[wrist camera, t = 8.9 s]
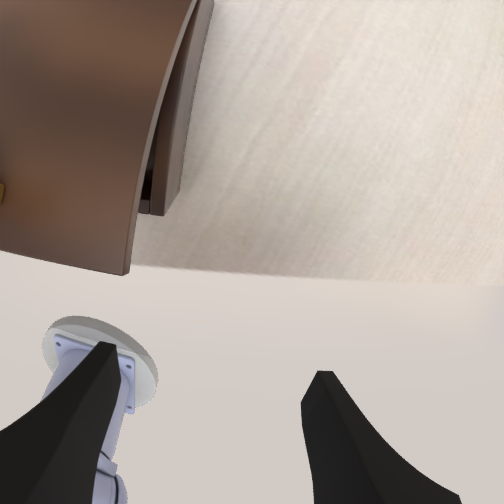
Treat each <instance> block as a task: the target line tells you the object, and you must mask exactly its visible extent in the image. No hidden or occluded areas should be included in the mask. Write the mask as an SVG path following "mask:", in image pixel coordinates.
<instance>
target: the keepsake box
mask: <svg viewBox="0 0 504 504" xmlns="http://www.w3.org/2000/svg"><path fill="white" fill-rule="evenodd" d="M213 7H214V1H213V0H197V2H196V4H195V7H194V9H193V12H192V14H191V17H190V19H189V22H188V25H187V27H186V30H185V33H184V35H183V38H182V41H181V44H180V47H179V50H178V52H177V55H176V58H175V61H174V65H173V68H172V71H171V74H170V77H169V80H168V84H167V87H166V90H165V94H164V97H163V101H162V105H161V108H160V112H159V116H158V119H157V123H156V127H155V131H154V135H153V139H152V144H151V148H150V152H149V157H148V161H147V166H146V171H145V176H144V181H143V186H142V191H141V196H140V202H139V208H138V213H142V214H149V213H150V214H151V215H157V216H164V215H165V213H166V212H167V210H168V208H169V207H170V205H171V204H172V202H173V200H174V199H175V197H176V196H177V194H178V192H179V189H180V181H181V174H182V166H183V159H184V152H185V145H186V139H187V133H188V126H189V120H190V115H191V109H192V103H193V98H194V92H195V87H196V82H197V77H198V72H199V67H200V62H201V58H202V53H203V49H204V44H205V40H206V35H207V31H208V27H209V23H210V19H211V15H212V11H213Z"/></svg>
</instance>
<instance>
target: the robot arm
mask: <svg viewBox="0 0 504 504" xmlns="http://www.w3.org/2000/svg"><path fill="white" fill-rule="evenodd" d="M53 339H54V344H55V349H56V353H57V358H58V362H59V364H58V366H57V368H56V370H55V372H54V374H53V376H52V378H51V380H50V382H49V384H48V386H47V388H46V390H45V393H44V395H43V397H42V399H41V401H40V403H39V404H37V405H36V406H35V407H34V408H32V409H31V410H30V411H29V412H27V413H26V414H25V415H23V416H22V417H21V418H19V419H18V420H17V421H15V422H14V423H12V424H11V425H9V426H8V427H6V428H4V429H3V430H1V431H0V504H127V491H126V488H125V486H124V482H123V480H122V478H121V477H120V476H119V475H117V474H116V470H117V464H115V463H113V462H112V461H111V459H112V458H113V456H114V453H115V449H116V445H117V441H118V436H119V432H120V428H121V425H122V421H123V416H124V413H128V414H134V411H135V360H134V359H133V358H132V357H130V356H126V355H122V354H119V353H117V347H116V345H115V344H111V343H106V342H102V341H100V342H98V343H97V344H96V346H92V345H89V344H86V343H83V342H80V341H77V340H74V339H71V338H68V337H65V336H62V335H59V334H55V336H54V337H53ZM301 417H302V428H303V433H304V438H305V444H306V448H307V453H308V458H309V464H310V469H311V474H312V480H313V493H314V504H462V503H461V500H460V498H459V495H457V494H455V493H453V492H452V491H450V490H448V489H446V488H444V487H442V486H440V485H439V484H437V483H435V482H434V481H432V480H431V479H429V478H428V477H426V476H425V475H423V474H422V473H421V472H419V471H418V470H416V468H414V467H413V466H412V465H411V464H409V463H408V462H407V461H406V460H405V459H403V458H402V457H401V456H400V455H399V454H398V453H397V452H396V451H395V450H394V449H393V448H392V447H391V446H390V445H389V444H388V443H387V442H386V441H385V440H384V439H383V438H382V437H381V435H380V434H379V433H378V432H377V431H376V430H375V428H374V427H373V426H372V425H371V424H370V422H369V421H368V420H367V418H365V416H364V415H363V413H362V412H361V411H360V409H359V408H358V407H357V405H356V404H355V402H354V401H353V400H352V398H351V397H350V395H349V394H348V393H347V391H346V390H345V388H344V387H343V385H342V384H341V383H340V381H339V380H338V378H337V377H336V375H335V374H334V372H333V371H317V373H316V375H315V377H314V379H313V380H312V382H311V384H310V386H309V388H308V390H307V392H306V394H305V395H304V397H303V399H302V401H301Z"/></svg>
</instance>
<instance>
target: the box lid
mask: <svg viewBox="0 0 504 504" xmlns="http://www.w3.org/2000/svg"><path fill="white" fill-rule="evenodd" d="M196 2H197V0H0V250H1V251H5V252H9V253H13V254H18V255H22V256H27V257H31V258H35V259H40V260H44V261H49V262H54V263H58V264H63V265H68V266H73V267H78V268H83V269H88V270H93V271H98V272H103V273H108V274H114V275H119V276H123V275H125V274H128V273H129V270H130V262H131V254H132V246H133V239H134V232H135V226H136V220H137V213H138V208H139V202H140V196H141V191H142V186H143V181H144V176H145V171H146V166H147V161H148V157H149V152H150V148H151V144H152V139H153V135H154V131H155V127H156V123H157V119H158V116H159V112H160V108H161V105H162V101H163V97H164V94H165V90H166V87H167V84H168V80H169V77H170V74H171V71H172V68H173V65H174V61H175V58H176V55H177V52H178V50H179V47H180V44H181V41H182V38H183V35H184V33H185V30H186V27H187V25H188V22H189V19H190V17H191V14H192V12H193V9H194V7H195V4H196Z"/></svg>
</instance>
